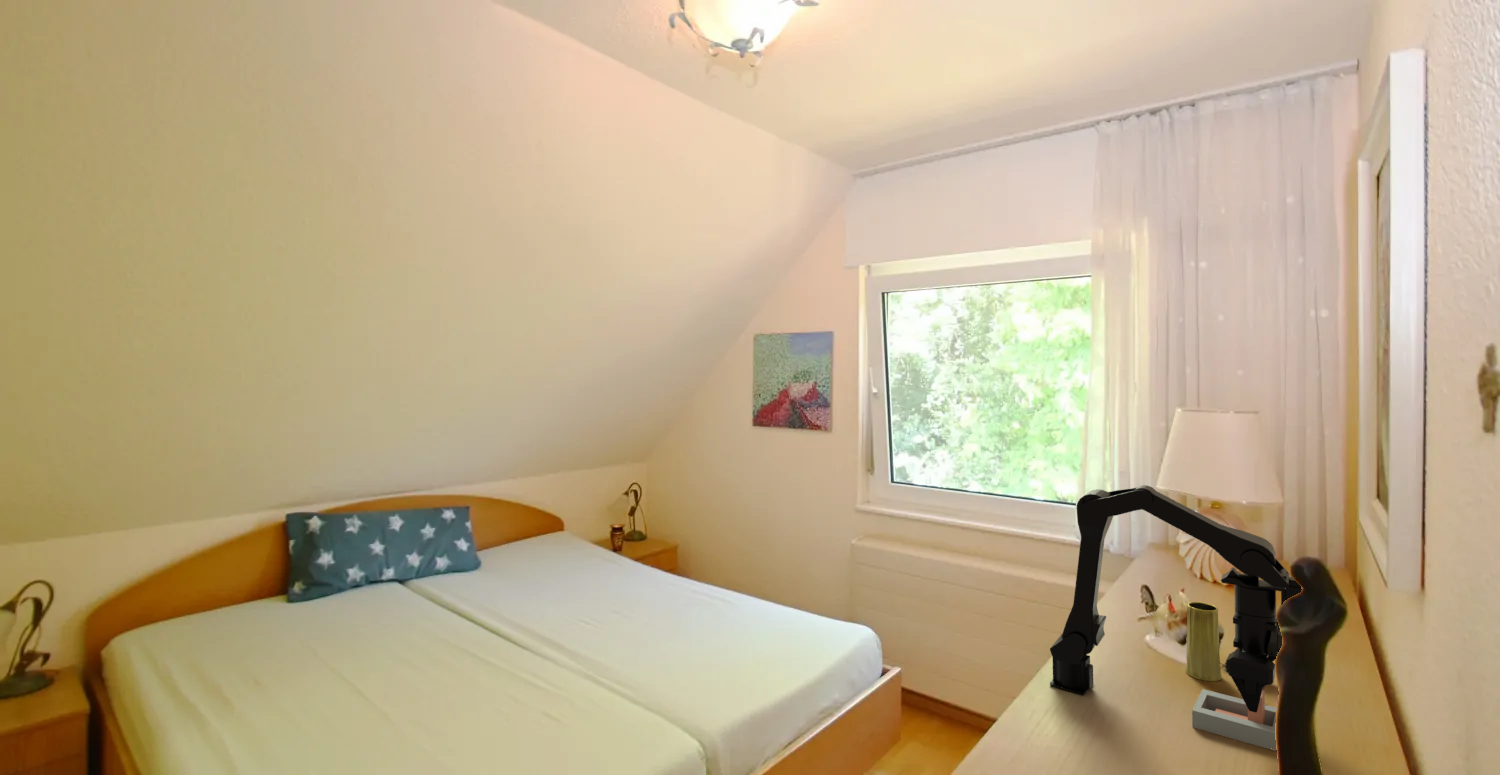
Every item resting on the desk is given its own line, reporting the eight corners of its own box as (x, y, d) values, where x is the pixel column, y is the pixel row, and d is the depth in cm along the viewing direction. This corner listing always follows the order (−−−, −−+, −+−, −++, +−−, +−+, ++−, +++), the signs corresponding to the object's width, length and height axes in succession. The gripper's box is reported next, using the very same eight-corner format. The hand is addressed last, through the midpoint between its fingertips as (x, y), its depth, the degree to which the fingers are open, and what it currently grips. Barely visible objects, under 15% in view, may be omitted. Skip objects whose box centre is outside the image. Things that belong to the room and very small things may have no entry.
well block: (1192, 727, 118) (1192, 710, 117) (1202, 704, 125) (1202, 688, 125) (1279, 751, 109) (1278, 733, 109) (1284, 726, 117) (1284, 709, 117)
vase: (1227, 682, 133) (1226, 612, 132) (1193, 681, 134) (1192, 610, 134) (1212, 669, 139) (1212, 601, 138) (1180, 667, 140) (1179, 600, 140)
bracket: (1265, 729, 116) (1264, 690, 116) (1262, 738, 113) (1262, 698, 113) (1216, 716, 121) (1215, 678, 120) (1213, 724, 118) (1212, 685, 118)
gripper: (1313, 640, 102) (1314, 740, 103) (1319, 606, 116) (1320, 694, 117) (1224, 623, 110) (1226, 716, 110) (1240, 593, 124) (1241, 676, 124)
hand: (1256, 700), depth 115 cm, fingers open, 9 cm apart
